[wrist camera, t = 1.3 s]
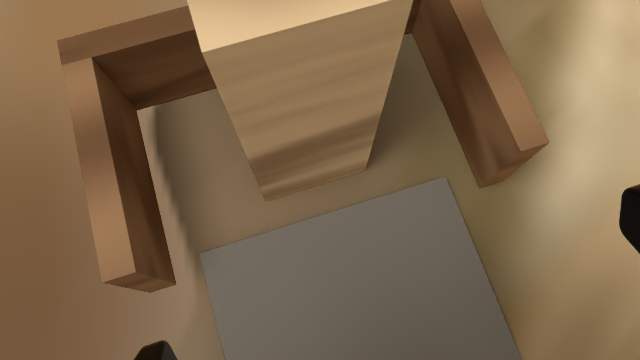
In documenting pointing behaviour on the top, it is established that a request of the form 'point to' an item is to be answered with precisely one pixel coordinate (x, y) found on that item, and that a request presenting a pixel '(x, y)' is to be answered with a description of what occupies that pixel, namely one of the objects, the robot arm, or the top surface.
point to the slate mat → (360, 286)
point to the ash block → (302, 81)
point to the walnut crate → (194, 77)
